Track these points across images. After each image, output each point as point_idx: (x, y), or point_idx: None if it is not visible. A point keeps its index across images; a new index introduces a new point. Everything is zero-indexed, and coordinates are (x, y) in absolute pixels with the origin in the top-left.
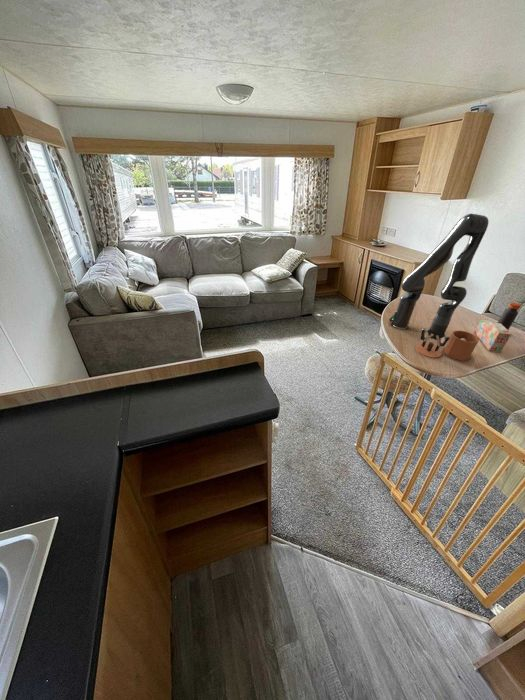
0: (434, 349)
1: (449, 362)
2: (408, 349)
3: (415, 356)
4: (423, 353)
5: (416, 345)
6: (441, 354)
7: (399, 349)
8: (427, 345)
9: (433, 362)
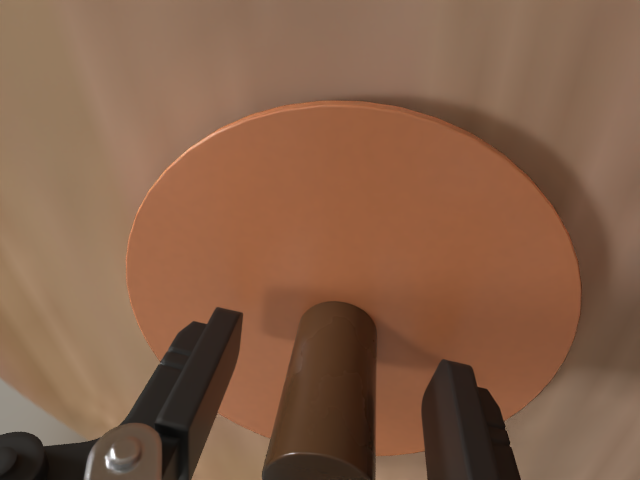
0: (448, 272)
1: (627, 438)
2: (92, 347)
3: (210, 439)
4: (273, 423)
5: (127, 271)
6: (550, 377)
7: (18, 380)
8: (308, 174)
9: (404, 477)
